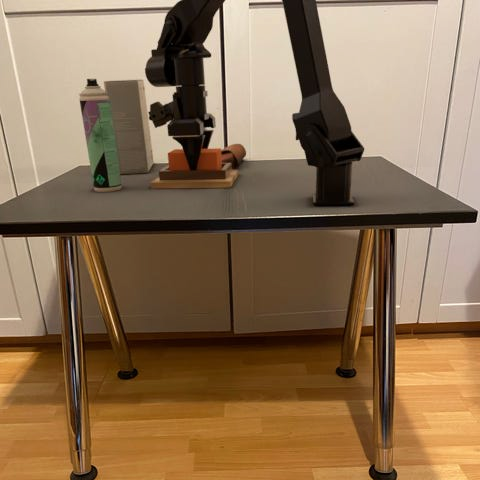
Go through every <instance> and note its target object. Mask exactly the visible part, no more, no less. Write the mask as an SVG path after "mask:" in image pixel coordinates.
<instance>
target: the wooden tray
mask: <svg viewBox="0 0 480 480" xmlns="http://www.w3.org/2000/svg"><path fill="white" fill-rule="evenodd" d="M239 173H240V171H239V169H235V170H232V163H222V169H218V170H169V164H167V165H166V166H164V167H163V168H161V169H159V171H158V177H157V178H155V179H153V180H152V181H151V182H150V188H151V189H152V190H153V189H155V190H157V189H225V188H226V189H227V188H228V189H229V188H232V186H233V185H234V183H235V181H236V180H237V179H238V177H239Z"/></svg>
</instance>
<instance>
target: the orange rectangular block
mask: <svg viewBox="0 0 480 480" xmlns="http://www.w3.org/2000/svg"><path fill="white" fill-rule="evenodd" d="M221 150H222V148H217V147H215V148H208V149H202V150H201V154H200V158H199V162H198V166H197V169H196V170H218V169H222V158H221ZM167 160H168V165H169V170H190V168H189V165H188V162H187V159H186V156H185V153H184V151H183V148H181V149H180V148H179V149H178V148H176V149H173V150H171V151H169V152H168V153H167Z"/></svg>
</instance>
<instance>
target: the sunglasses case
mask: <svg viewBox="0 0 480 480" xmlns="http://www.w3.org/2000/svg"><path fill="white" fill-rule="evenodd" d="M246 156H247V151H246V148H245V147H244V145H243V144H241V143H233V144H230V145H228V146H225V147H224V148H221V158H222V163H232V170H238V169H237V168H239V167H240V165H241V163H242V161H243V160H244V158H245V157H246Z"/></svg>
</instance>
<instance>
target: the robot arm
mask: <svg viewBox="0 0 480 480" xmlns="http://www.w3.org/2000/svg"><path fill="white" fill-rule="evenodd" d="M225 2H226V0H178V2H176V3H175V4H174V5H173V6H172V7H171V8H170V9H169V10H168V11H167V13H166V14H165V17H164V21H163V25H162V29H161V33H160V37H159V39H158V40H157V47H156V49H155V48H154V49H151V50H150V53H151V56H150V57H149V58H148V59H147V61H146V64H145V68H144V74H145V78H146V79H147V81H148V83H149V84H150V85H151V86H153V87H155V88H169V87H175V91H173V93H172V101H170V102H168V103H167V102H166V103H164V104H162V103H161V102H160V101H155V102H152V103H150V105H149V111H147V112H148V120H149V121H151V122H152V124H153V126H154V129H157V128H160V127H163V126H165V125H166V127H167V136H168V137H171V138H172V140H174V141H176V142H177V143H178V144H179V145H180V146H181V149H183V151H184V153H185V156H186V159H187V162H188V165H189V168H190V170H196V169H197V166H198V162H199V158H200V154H201V150H202V149H209V146H210V143H211V140H212V138H213V134H214V129H215V128H216V127H217V126H216V125H217V124H216V117H215V116H214V115H213V114H212V113H208V111H207V97H208V95H209V94H208V90H206V79H205V78H206V77H205V63H204V61H205V60H204V59H209V58H211V57H212V53H211V52H210V51H209V50H208V49H207V48H206V47H205V45H204V43H205V42H206V41H207V38H208V37H209V36H210V33H211V31H212V30H213V27H214V17H215V16H216V14H217V12H218V11H219V10H220V8H221V7H222V5H224V3H225ZM281 2H282V8H283V11H284V16H285V21H286V26H287V31H288V36H289V41H290V45H291V50H292V51H291V52H292V55H293V61H294V65H295V70H296V75H297V80H298V85H299V90H300V94H301V103H300V107H299V111H298V112H294V113H292V115H291V120H292V124H293V125H294V129H295V141H298V142H299V145H300V147H301V149H302V150H303V151H304V155H305V160H306V164H307V166H309V167H314V168H316V169H315V171H316V173H315V178H316V179H315V194H314V193H313V194H312V205H313V206H353V205H355V201H354V198H353V196H352V194H351V189H352V176H353V163H354V162H360V161H361V160H362V157H363V154H364V152H365V147H364V145H363V144H362V143H361V142H360V140H359V139H358V138H357V136H356V135H355V133H354V132H353V131H352V126H351V125H352V124H351V122H350V119H349V116H348V113H347V111H346V107H345V106H344V104H343V103H342V102H341V100H340V98H339V97H338V96H337V94H336V92H335V91H334V88H333V85H332V79H331V74H330V69H329V62H328V57H327V51H326V48H325V42H324V36H323V31H322V26H321V19H320V16H319V10H318V6H317V0H281ZM208 128H210V129H208Z"/></svg>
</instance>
